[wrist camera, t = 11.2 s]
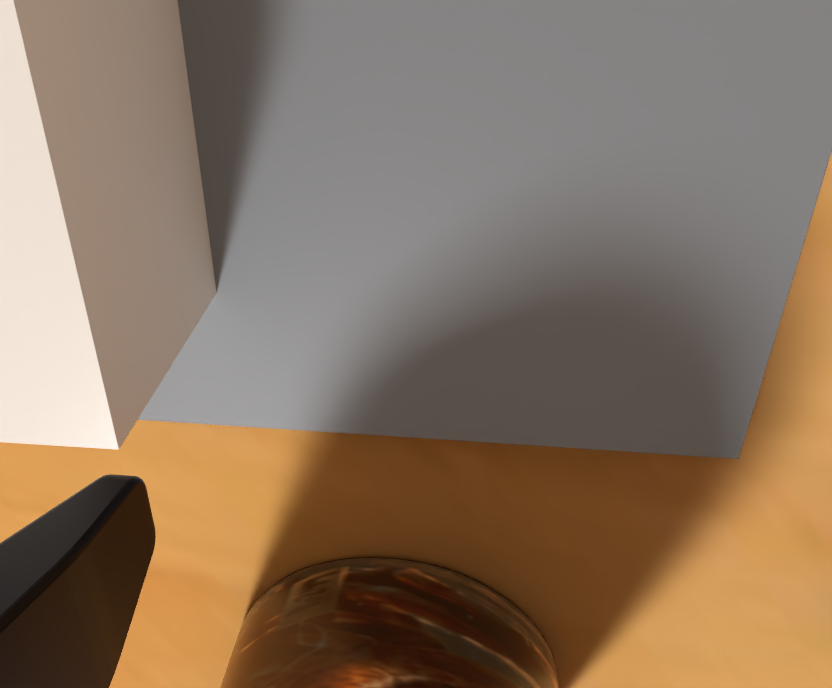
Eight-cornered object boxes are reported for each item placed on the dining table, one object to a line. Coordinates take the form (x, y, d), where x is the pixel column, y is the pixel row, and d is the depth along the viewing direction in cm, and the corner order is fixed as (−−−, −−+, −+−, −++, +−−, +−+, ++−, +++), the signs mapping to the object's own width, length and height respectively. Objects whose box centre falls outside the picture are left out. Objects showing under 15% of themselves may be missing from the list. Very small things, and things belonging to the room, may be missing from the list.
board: (979, -486, 13) (1036, -525, 11) (723, 424, 22) (738, 458, 21) (-281, -486, 14) (-360, -522, 12) (-9, 377, 23) (-38, 407, 22)
